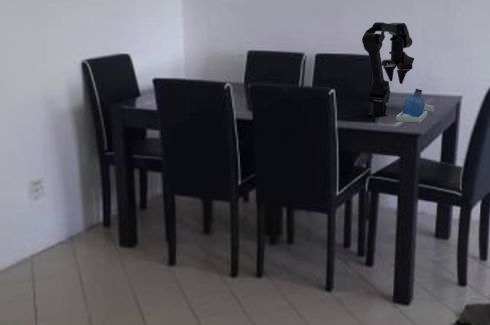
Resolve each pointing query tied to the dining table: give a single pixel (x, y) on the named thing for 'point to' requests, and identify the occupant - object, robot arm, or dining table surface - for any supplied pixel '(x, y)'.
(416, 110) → the perfume bottle
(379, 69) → the robot arm
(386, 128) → the dining table surface
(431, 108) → the bay
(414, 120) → the tray
